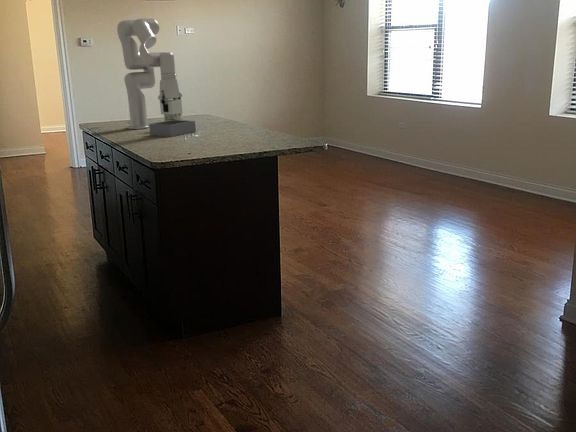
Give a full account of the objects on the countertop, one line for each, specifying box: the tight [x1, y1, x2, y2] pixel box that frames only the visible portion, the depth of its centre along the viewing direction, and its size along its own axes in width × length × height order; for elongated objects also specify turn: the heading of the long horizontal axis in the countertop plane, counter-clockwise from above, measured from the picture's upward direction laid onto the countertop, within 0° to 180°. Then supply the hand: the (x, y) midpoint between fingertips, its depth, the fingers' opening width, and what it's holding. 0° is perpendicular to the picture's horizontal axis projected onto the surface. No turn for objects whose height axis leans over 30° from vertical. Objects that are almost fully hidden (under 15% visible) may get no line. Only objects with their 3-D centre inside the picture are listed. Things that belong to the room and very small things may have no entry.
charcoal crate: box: [148, 119, 197, 137], centre depth 338 cm, size 16×18×6 cm
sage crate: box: [159, 99, 184, 115], centre depth 335 cm, size 9×7×7 cm
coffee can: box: [163, 113, 184, 121], centre depth 356 cm, size 10×10×14 cm
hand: (171, 110), depth 336 cm, fingers closed on sage crate, 7 cm apart
